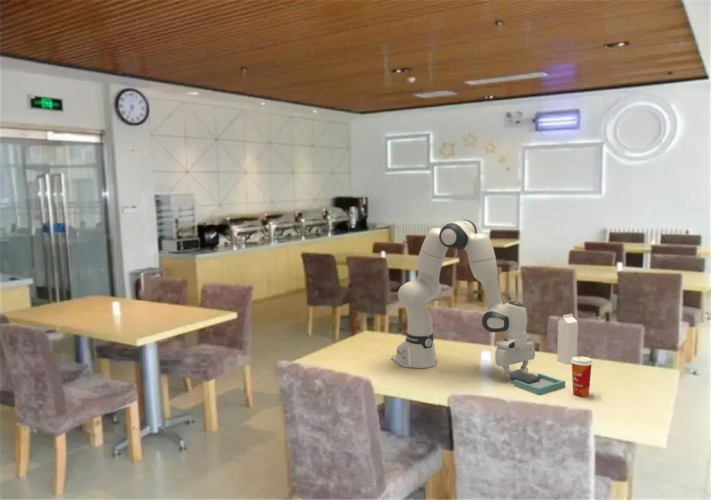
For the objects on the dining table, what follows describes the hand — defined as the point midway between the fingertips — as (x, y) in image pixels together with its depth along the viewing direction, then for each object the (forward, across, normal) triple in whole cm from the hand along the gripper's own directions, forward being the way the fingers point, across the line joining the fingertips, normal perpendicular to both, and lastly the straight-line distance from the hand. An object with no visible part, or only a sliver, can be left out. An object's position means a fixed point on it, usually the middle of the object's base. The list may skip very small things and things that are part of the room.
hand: (515, 372), depth 244 cm
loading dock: (+3, 0, +9) cm, 10 cm away
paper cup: (+2, -6, +28) cm, 28 cm away
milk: (+2, -36, -2) cm, 36 cm away
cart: (+2, 0, +6) cm, 6 cm away
